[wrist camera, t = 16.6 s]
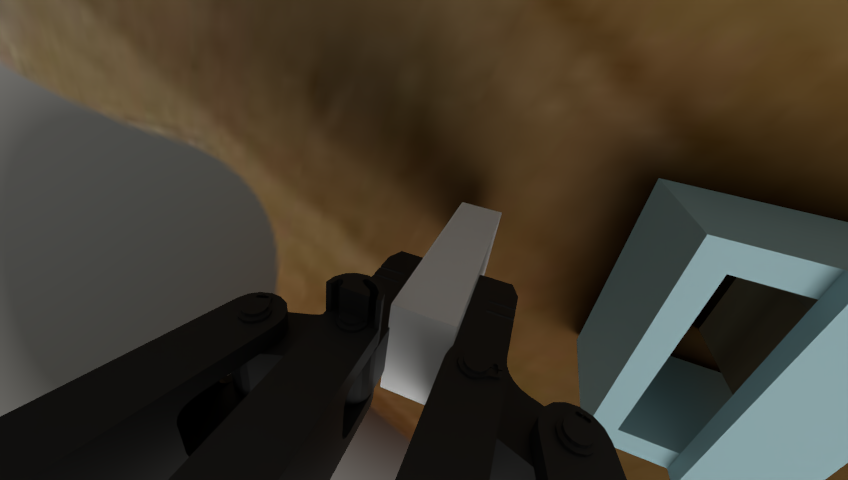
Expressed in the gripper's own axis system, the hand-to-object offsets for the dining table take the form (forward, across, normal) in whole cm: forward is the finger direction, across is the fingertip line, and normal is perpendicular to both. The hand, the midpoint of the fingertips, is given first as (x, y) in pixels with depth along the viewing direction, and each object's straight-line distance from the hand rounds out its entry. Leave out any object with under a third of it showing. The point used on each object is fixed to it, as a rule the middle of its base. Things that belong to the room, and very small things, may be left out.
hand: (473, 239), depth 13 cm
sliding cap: (+2, +9, 0) cm, 9 cm away
